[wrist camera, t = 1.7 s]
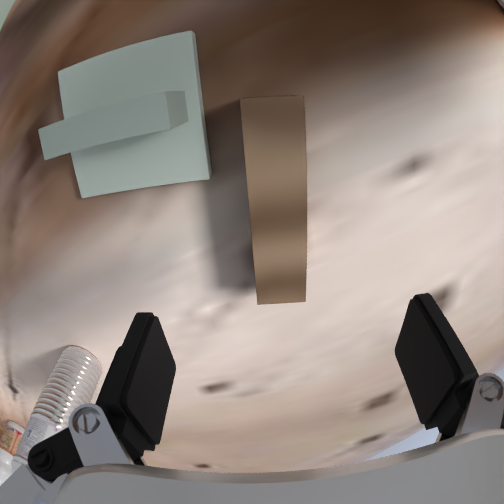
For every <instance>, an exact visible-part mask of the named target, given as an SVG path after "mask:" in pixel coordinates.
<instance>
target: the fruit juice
mask: <svg viewBox="0 0 504 504" xmlns="http://www.w3.org/2000/svg"><path fill="white" fill-rule="evenodd" d="M24 431H25V429H24V428H23V427H21V426H20V425H19V424H17V423H15V422H13V421H8V423H7V425H6V427H5V430H4V432H3V434H2V437H1V439H0V486H1V485H2V484H3V483H4V482H5V481H6V480H7V479H8V478H9V477H10V476H11V475H12V474H13V471H12V467H11V461H12V460H13V456H14V455H15V454H16V451H17V449H18V446H19V443H20V441H21V439H22V436H23V434H24Z"/></svg>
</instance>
